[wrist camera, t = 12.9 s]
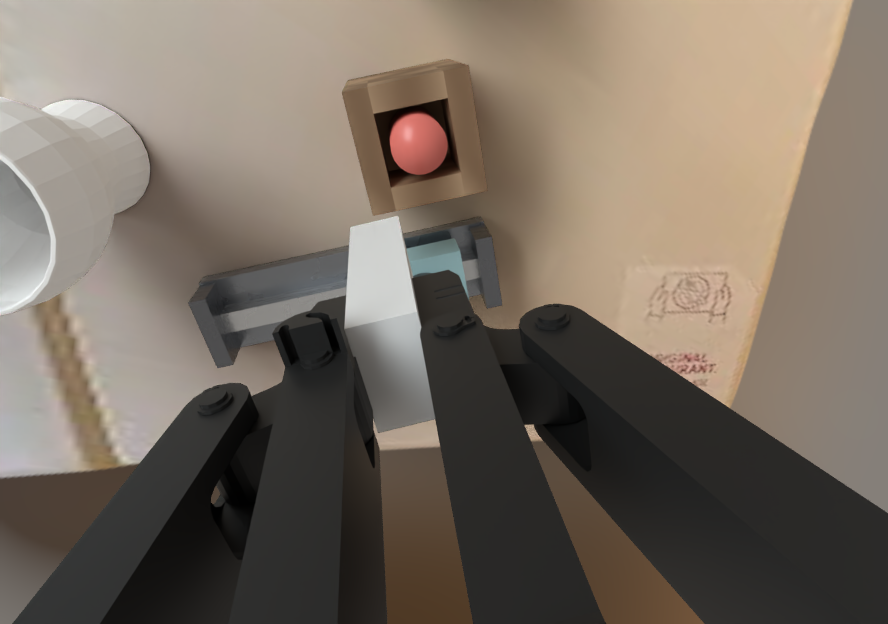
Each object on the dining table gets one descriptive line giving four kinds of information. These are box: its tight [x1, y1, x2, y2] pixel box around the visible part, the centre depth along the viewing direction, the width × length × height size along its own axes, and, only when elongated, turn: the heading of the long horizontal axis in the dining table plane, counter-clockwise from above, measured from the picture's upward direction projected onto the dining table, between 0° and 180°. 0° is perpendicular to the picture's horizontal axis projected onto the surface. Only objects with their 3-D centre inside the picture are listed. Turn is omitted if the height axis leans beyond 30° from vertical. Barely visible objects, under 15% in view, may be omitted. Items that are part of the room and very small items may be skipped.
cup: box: [0, 97, 150, 316], centre depth 32 cm, size 11×11×15 cm
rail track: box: [188, 217, 502, 368], centre depth 43 cm, size 22×6×4 cm, turn 101°
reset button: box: [388, 107, 448, 175], centre depth 33 cm, size 3×3×4 cm
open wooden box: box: [342, 59, 488, 216], centre depth 36 cm, size 7×8×9 cm
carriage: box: [406, 238, 469, 299], centre depth 37 cm, size 6×6×13 cm
